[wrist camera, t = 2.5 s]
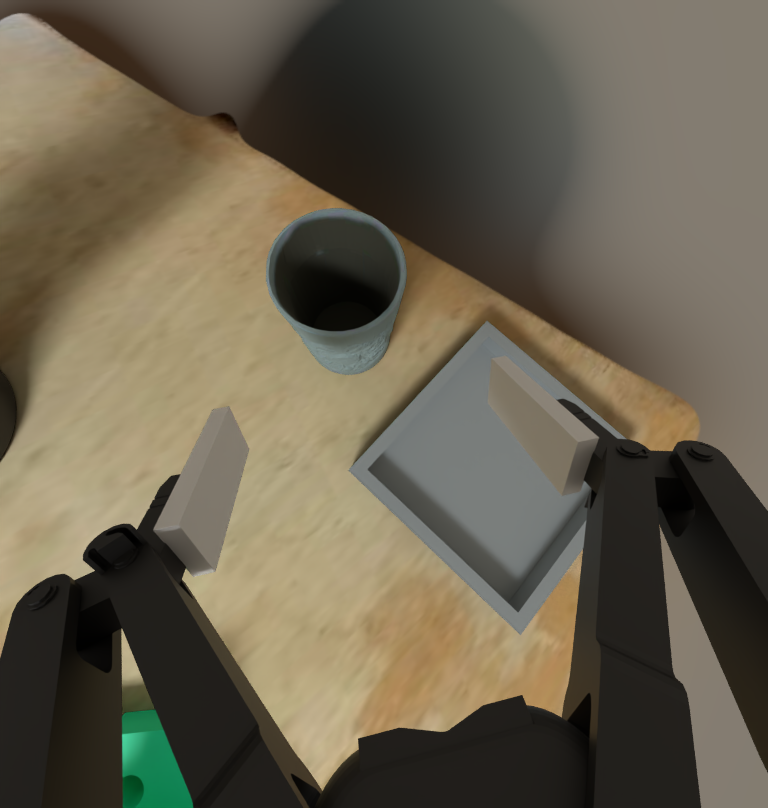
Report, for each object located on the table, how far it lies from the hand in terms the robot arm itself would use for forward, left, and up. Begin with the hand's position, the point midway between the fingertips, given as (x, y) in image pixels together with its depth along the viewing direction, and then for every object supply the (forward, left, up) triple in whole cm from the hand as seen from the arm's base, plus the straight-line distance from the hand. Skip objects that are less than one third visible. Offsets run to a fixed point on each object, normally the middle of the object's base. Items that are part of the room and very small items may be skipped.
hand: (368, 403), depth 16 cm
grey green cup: (-9, +6, -17) cm, 20 cm away
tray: (+11, +6, -17) cm, 21 cm away
